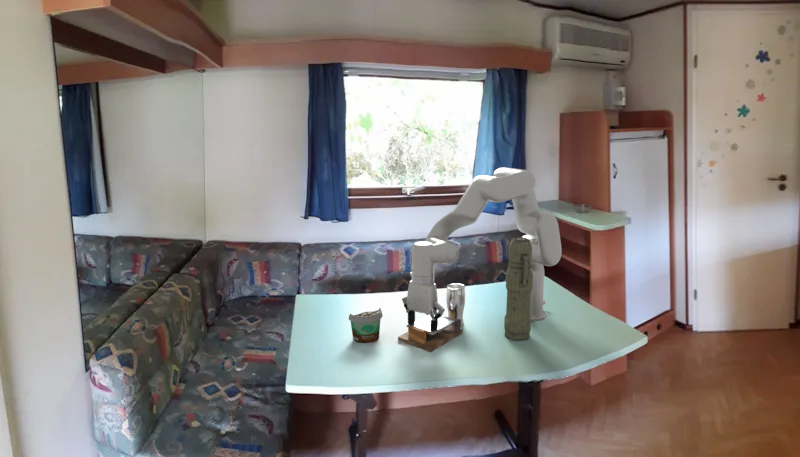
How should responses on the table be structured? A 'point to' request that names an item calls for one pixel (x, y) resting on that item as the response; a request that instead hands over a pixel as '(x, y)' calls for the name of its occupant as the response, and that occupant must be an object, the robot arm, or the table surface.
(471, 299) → the table surface
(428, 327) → the grey marble tile
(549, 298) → the table surface
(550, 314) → the table surface
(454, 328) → the plate
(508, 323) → the thermos
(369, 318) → the food container
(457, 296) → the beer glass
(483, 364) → the table surface
